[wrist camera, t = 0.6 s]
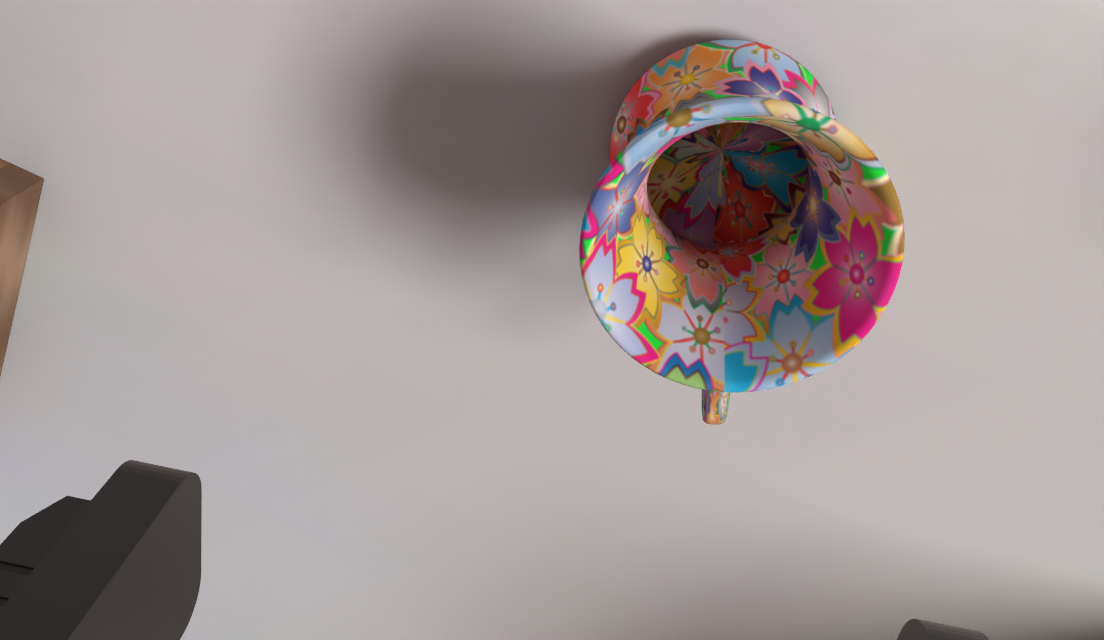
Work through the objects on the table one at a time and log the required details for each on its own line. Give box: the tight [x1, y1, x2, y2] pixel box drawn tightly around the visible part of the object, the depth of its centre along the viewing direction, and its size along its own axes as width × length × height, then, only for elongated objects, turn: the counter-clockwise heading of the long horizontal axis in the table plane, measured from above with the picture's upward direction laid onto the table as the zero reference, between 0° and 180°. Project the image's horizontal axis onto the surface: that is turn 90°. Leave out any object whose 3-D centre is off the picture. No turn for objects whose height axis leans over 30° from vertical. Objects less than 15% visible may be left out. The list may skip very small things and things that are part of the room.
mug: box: [579, 39, 904, 425], centre depth 34 cm, size 12×9×11 cm
